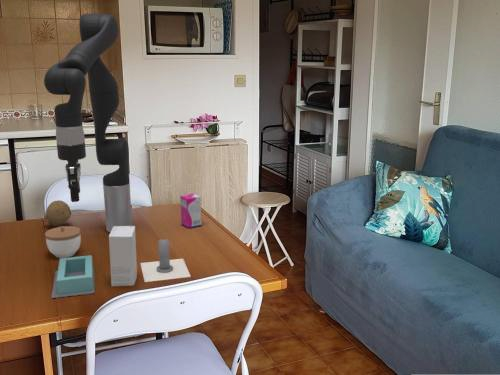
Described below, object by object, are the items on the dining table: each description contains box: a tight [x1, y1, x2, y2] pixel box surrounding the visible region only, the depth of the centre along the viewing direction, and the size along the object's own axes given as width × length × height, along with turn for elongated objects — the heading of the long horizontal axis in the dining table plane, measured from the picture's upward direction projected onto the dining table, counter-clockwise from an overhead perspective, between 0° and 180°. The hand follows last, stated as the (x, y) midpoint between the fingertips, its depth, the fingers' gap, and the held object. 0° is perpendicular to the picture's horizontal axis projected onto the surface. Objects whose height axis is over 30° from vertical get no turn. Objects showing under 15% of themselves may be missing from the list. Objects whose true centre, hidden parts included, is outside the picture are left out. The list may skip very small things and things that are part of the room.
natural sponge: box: [44, 199, 72, 228], centre depth 195 cm, size 9×9×10 cm
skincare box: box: [108, 225, 138, 287], centre depth 147 cm, size 8×7×16 cm
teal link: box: [57, 254, 94, 295], centre depth 149 cm, size 16×9×4 cm, turn 16°
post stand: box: [140, 238, 191, 283], centre depth 155 cm, size 14×13×10 cm
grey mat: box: [50, 266, 96, 300], centre depth 149 cm, size 18×12×1 cm, turn 16°
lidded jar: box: [44, 225, 82, 259], centre depth 169 cm, size 11×11×9 cm
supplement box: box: [179, 193, 202, 229], centre depth 196 cm, size 6×6×12 cm
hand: (75, 197), depth 152 cm, fingers open, 8 cm apart
